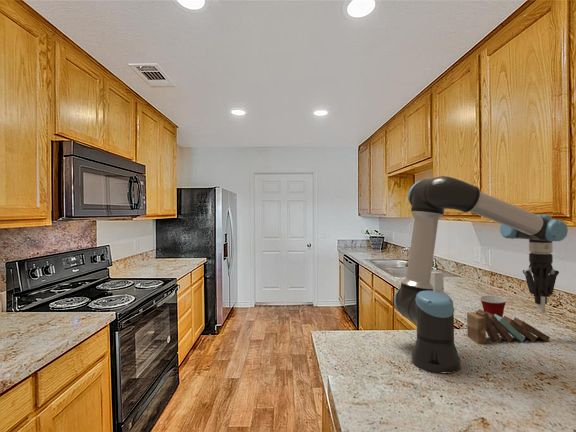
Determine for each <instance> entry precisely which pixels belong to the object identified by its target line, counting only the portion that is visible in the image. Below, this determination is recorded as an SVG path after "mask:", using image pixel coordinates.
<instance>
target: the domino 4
mask: <svg viewBox="0 0 576 432" xmlns="http://www.w3.org/2000/svg"><path fill="white" fill-rule="evenodd" d="M503 319H505V320H506V321H507V322H508V323H509V324H510V325H511V326H512V327H513V328H515V329H516V330H517V331H518V332H519V333H520V334H521V335H522V336H524V337H525V339H528V340H530V341H532V342H534V343H535V342H536V340H537V339H538V337H537V336H536V335H534V334H532V333H531V332H529V331H527V330H526V329H525V328H523V327H522V326H520V325H519V324H518V323H516V322H515V321H514V319H512V318H509V317H508V316H506V315H503Z"/></svg>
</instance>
